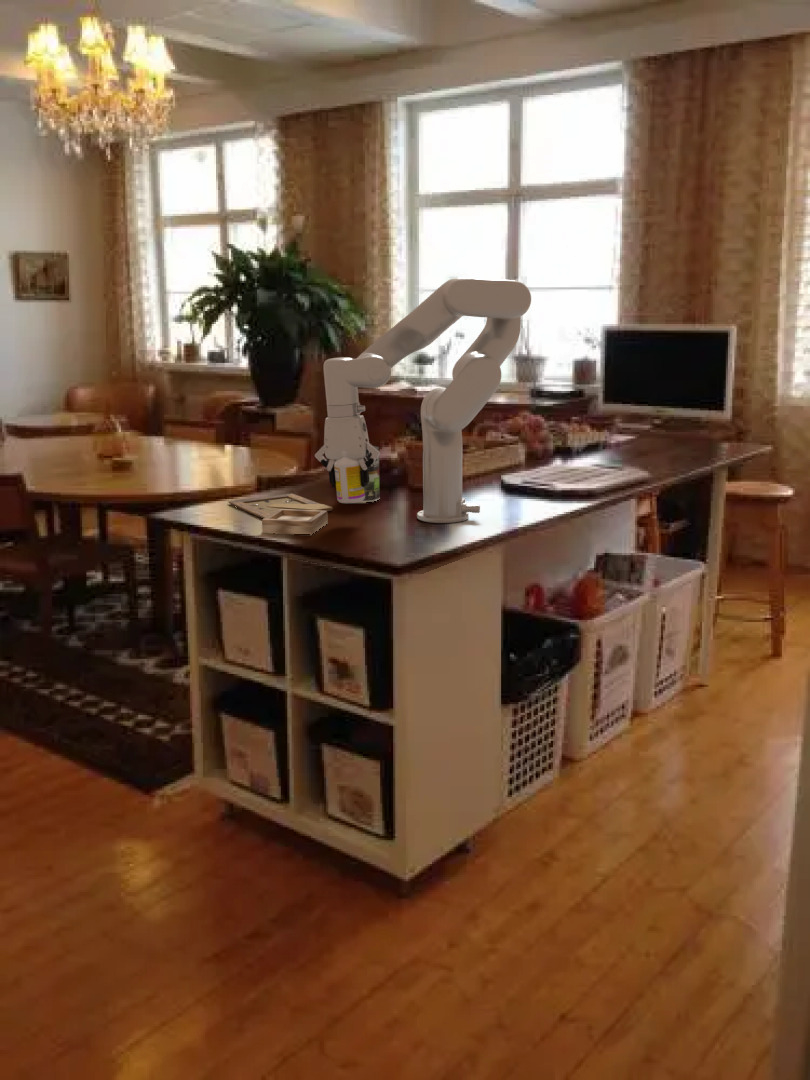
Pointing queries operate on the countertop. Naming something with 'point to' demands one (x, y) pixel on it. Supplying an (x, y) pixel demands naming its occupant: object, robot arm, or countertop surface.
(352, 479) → the supplement bottle
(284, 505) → the picture frame
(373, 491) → the coffee can
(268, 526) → the stand
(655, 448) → the countertop surface
